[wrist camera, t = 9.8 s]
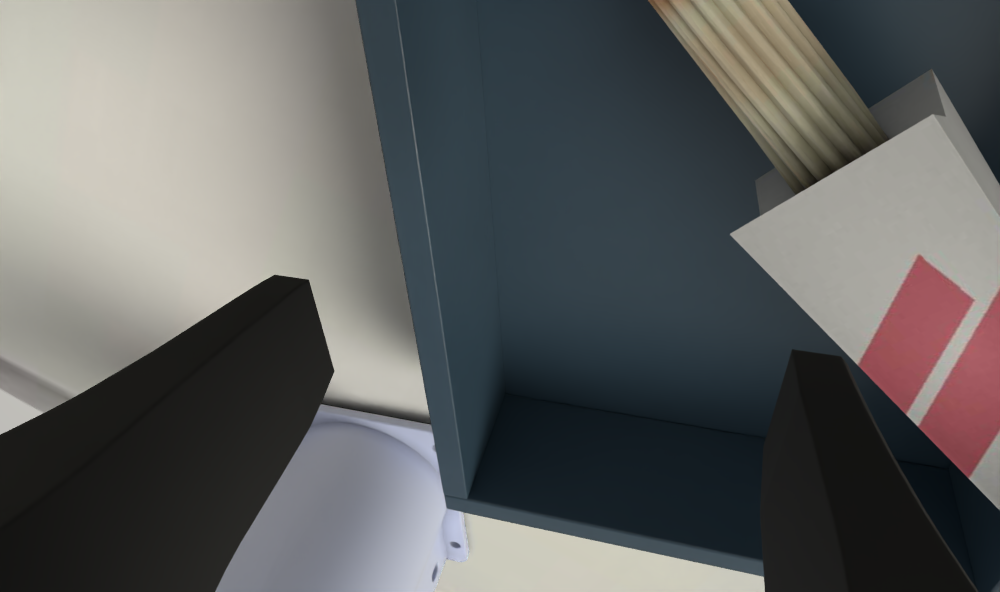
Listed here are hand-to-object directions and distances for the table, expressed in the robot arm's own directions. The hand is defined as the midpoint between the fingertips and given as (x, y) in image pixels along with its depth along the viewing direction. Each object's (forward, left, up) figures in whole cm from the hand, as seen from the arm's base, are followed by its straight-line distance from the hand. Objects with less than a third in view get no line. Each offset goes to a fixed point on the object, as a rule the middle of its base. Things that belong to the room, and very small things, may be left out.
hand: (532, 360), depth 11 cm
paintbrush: (+1, -4, -7) cm, 9 cm away
